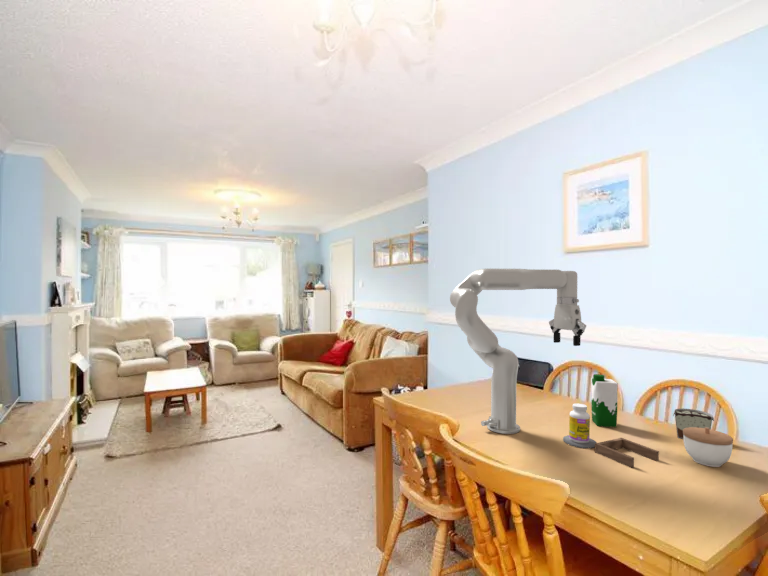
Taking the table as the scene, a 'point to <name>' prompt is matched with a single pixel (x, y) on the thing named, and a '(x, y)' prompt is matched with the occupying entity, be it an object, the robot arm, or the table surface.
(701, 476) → the table surface
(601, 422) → the milk carton
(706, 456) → the lidded bowl
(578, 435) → the supplement bottle
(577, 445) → the mat
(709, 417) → the food container
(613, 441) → the holder
